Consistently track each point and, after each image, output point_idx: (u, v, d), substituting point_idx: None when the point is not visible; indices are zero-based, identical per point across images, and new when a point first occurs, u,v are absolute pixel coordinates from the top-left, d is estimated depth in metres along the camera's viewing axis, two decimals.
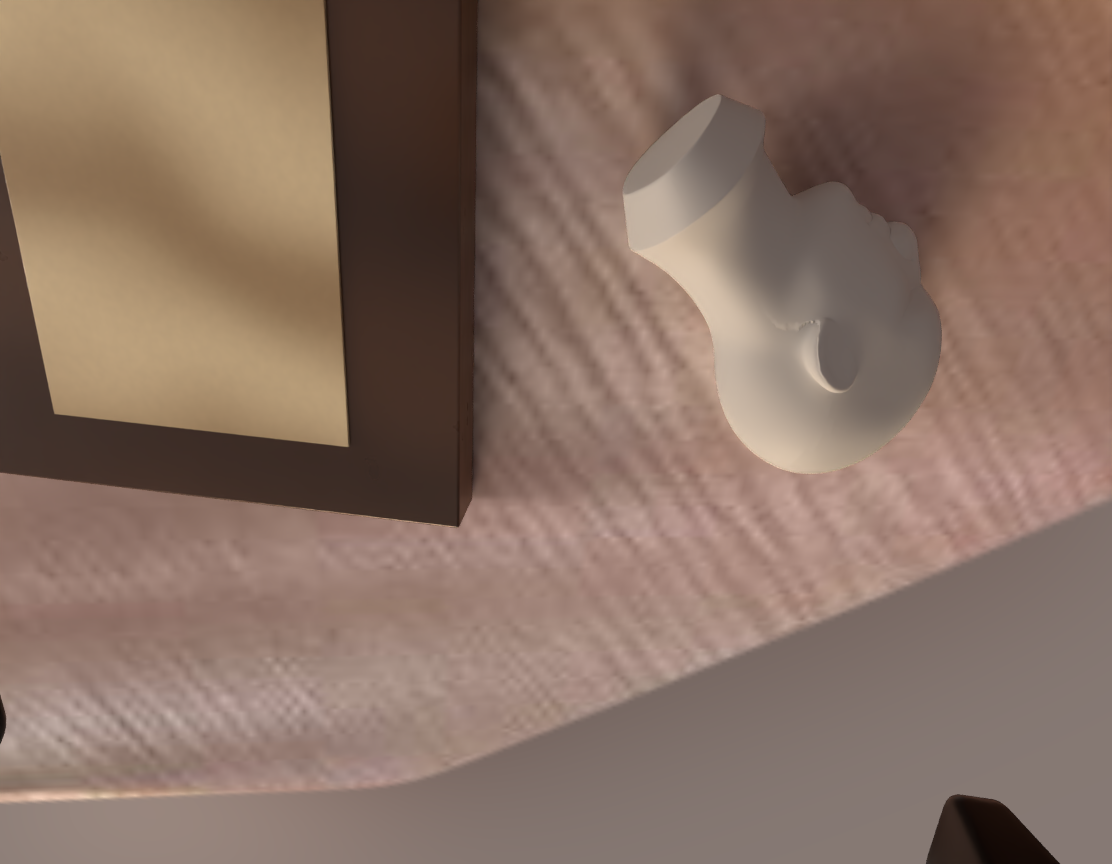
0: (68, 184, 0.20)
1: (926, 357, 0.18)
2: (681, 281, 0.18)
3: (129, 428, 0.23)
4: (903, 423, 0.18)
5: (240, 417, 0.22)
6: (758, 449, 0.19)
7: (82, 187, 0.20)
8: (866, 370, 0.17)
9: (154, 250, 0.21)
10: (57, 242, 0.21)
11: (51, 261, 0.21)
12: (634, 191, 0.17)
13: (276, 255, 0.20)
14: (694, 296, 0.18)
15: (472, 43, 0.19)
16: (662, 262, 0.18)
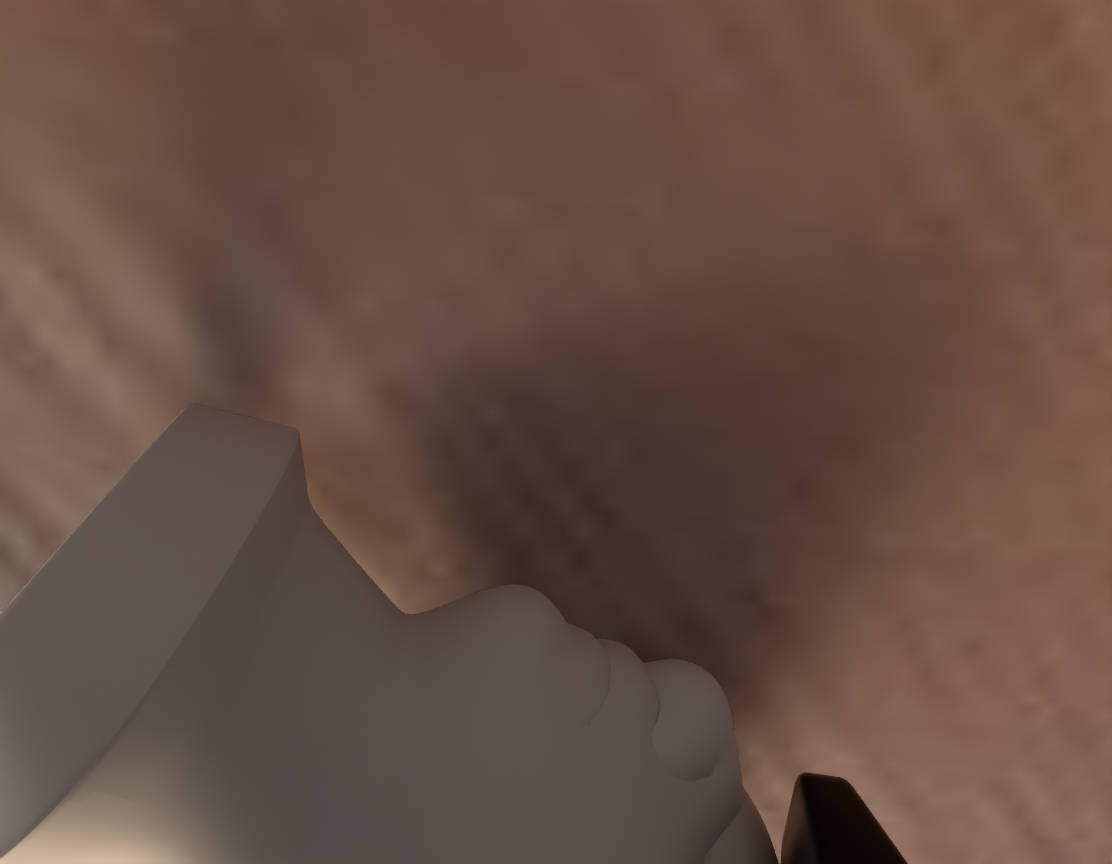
0: None
1: None
2: None
3: None
4: None
5: None
6: None
7: None
8: None
9: None
10: None
11: None
12: None
13: None
14: None
15: None
16: None
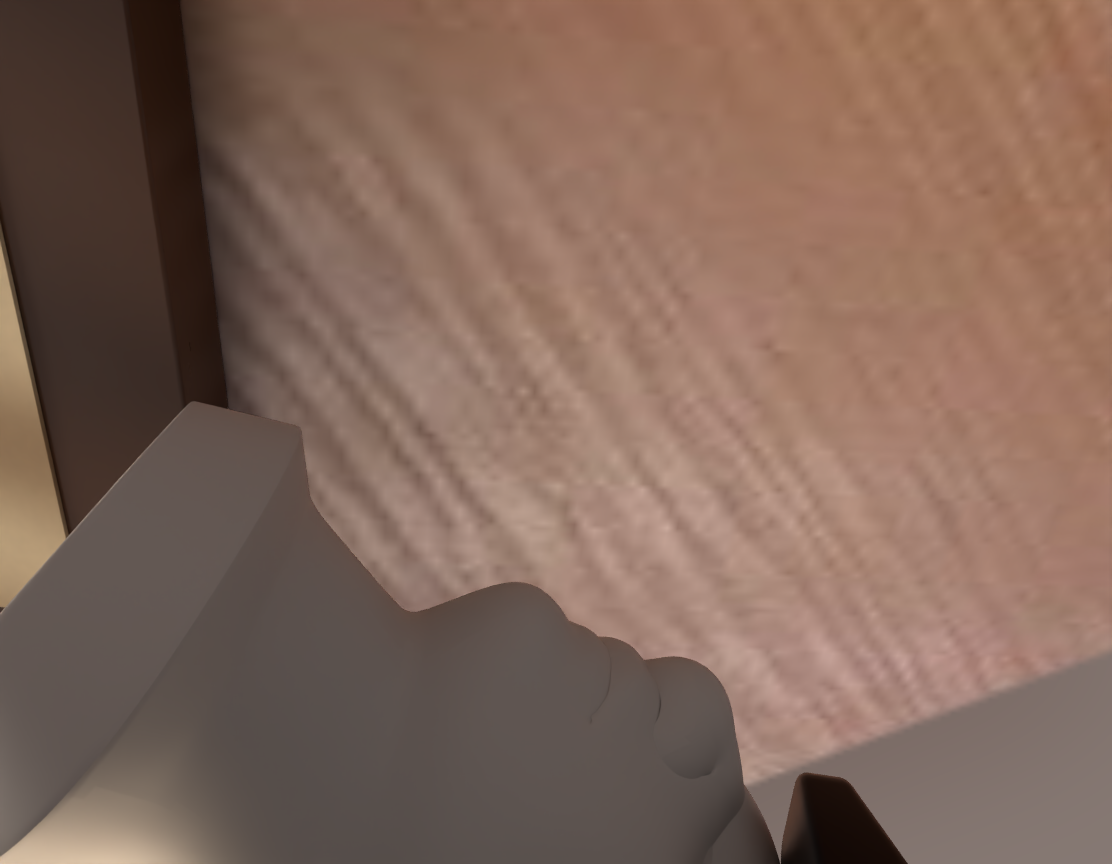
0: None
1: None
2: None
3: None
4: None
5: None
6: None
7: None
8: None
9: None
10: None
11: None
12: None
13: None
14: None
15: (181, 138, 0.15)
16: None
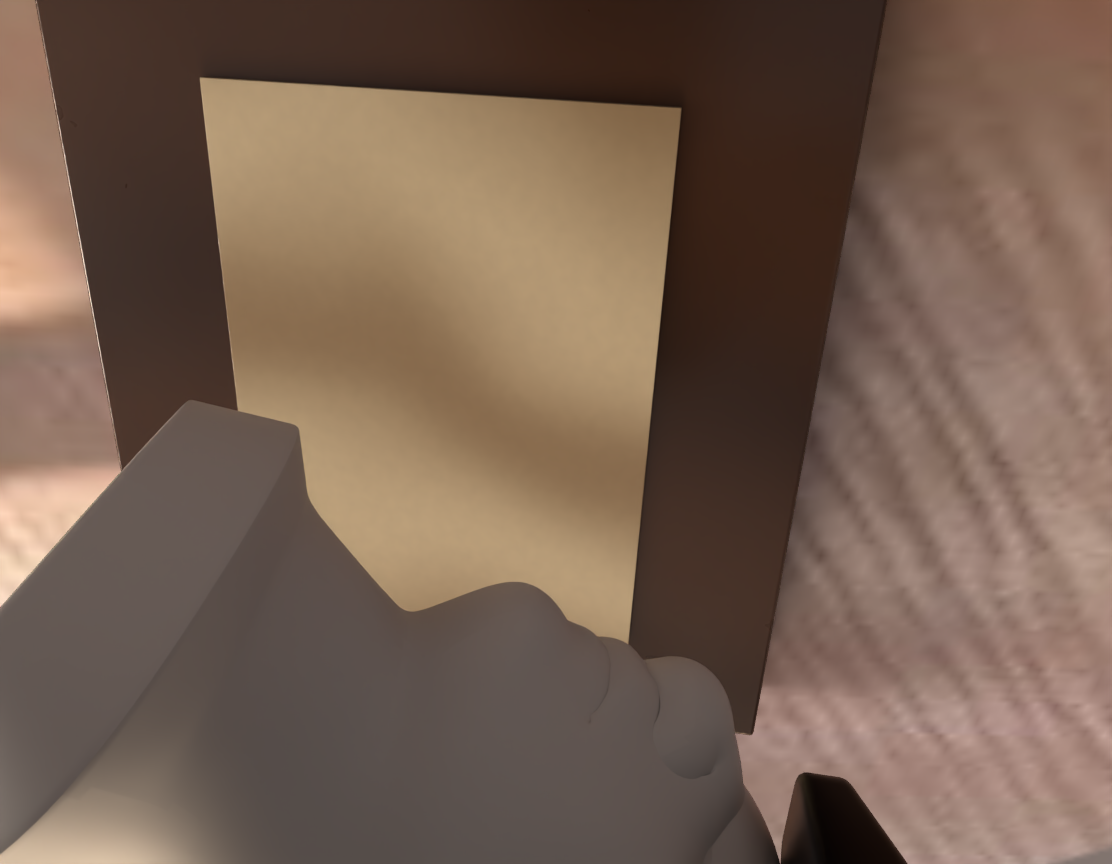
0: (308, 339, 0.16)
1: None
2: None
3: None
4: None
5: None
6: None
7: (327, 343, 0.16)
8: None
9: (411, 418, 0.17)
10: (287, 406, 0.17)
11: None
12: None
13: (569, 427, 0.16)
14: None
15: None
16: None
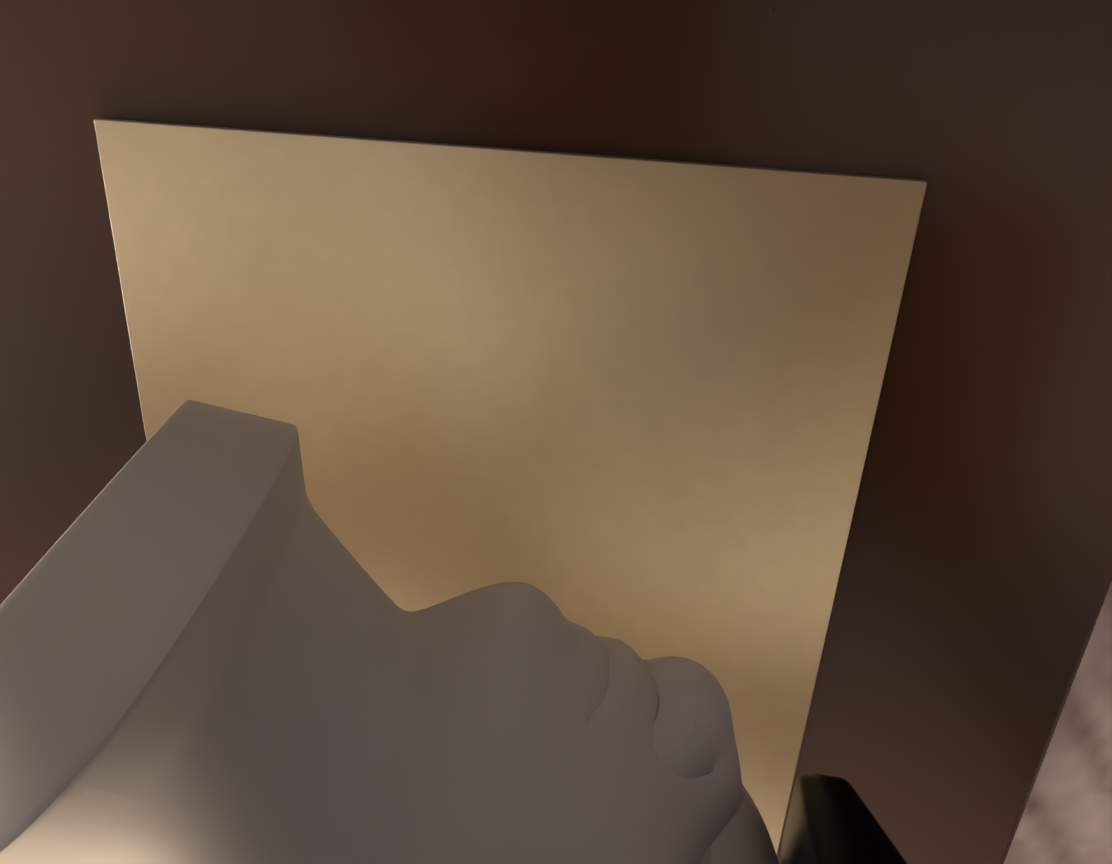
0: None
1: None
2: None
3: None
4: None
5: None
6: None
7: None
8: None
9: None
10: None
11: None
12: None
13: None
14: None
15: None
16: None
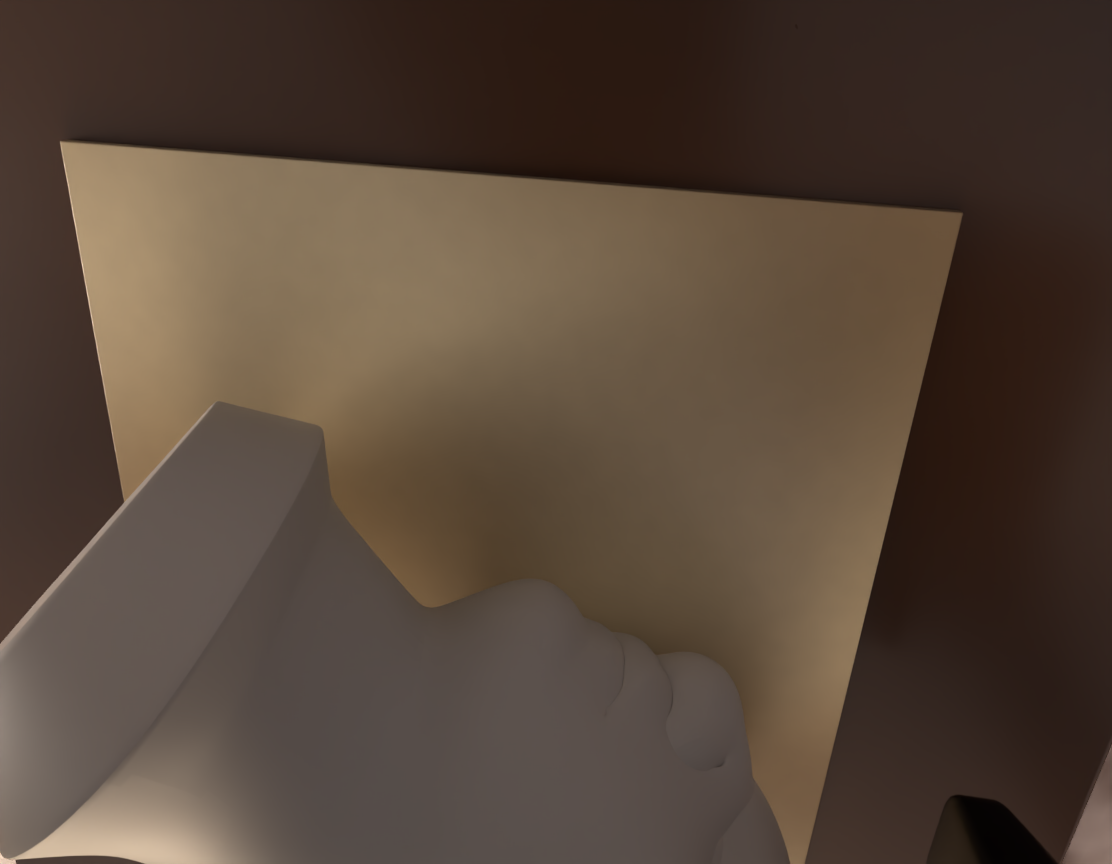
0: None
1: None
2: None
3: None
4: None
5: None
6: None
7: None
8: None
9: None
10: None
11: None
12: None
13: None
14: None
15: None
16: None
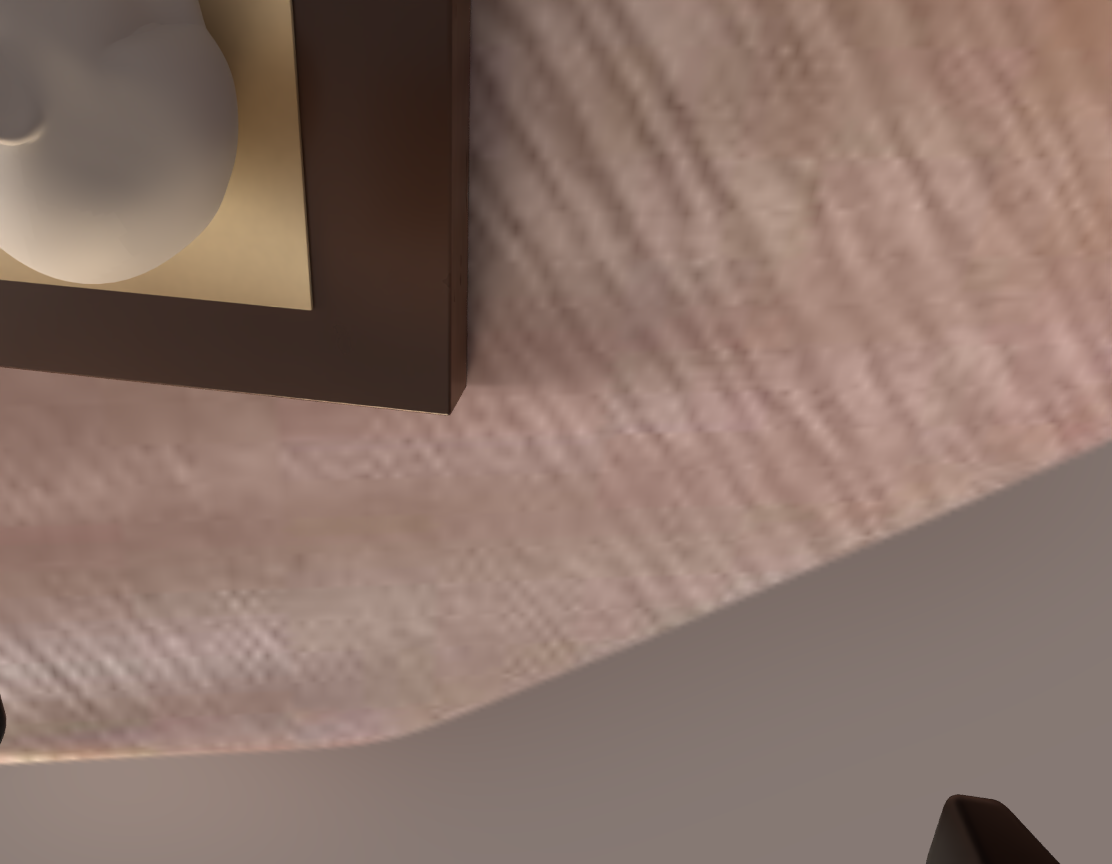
0: None
1: (161, 109, 0.13)
2: None
3: (38, 292, 0.18)
4: (161, 205, 0.14)
5: (175, 274, 0.18)
6: None
7: None
8: (59, 117, 0.13)
9: None
10: None
11: None
12: None
13: None
14: None
15: None
16: None
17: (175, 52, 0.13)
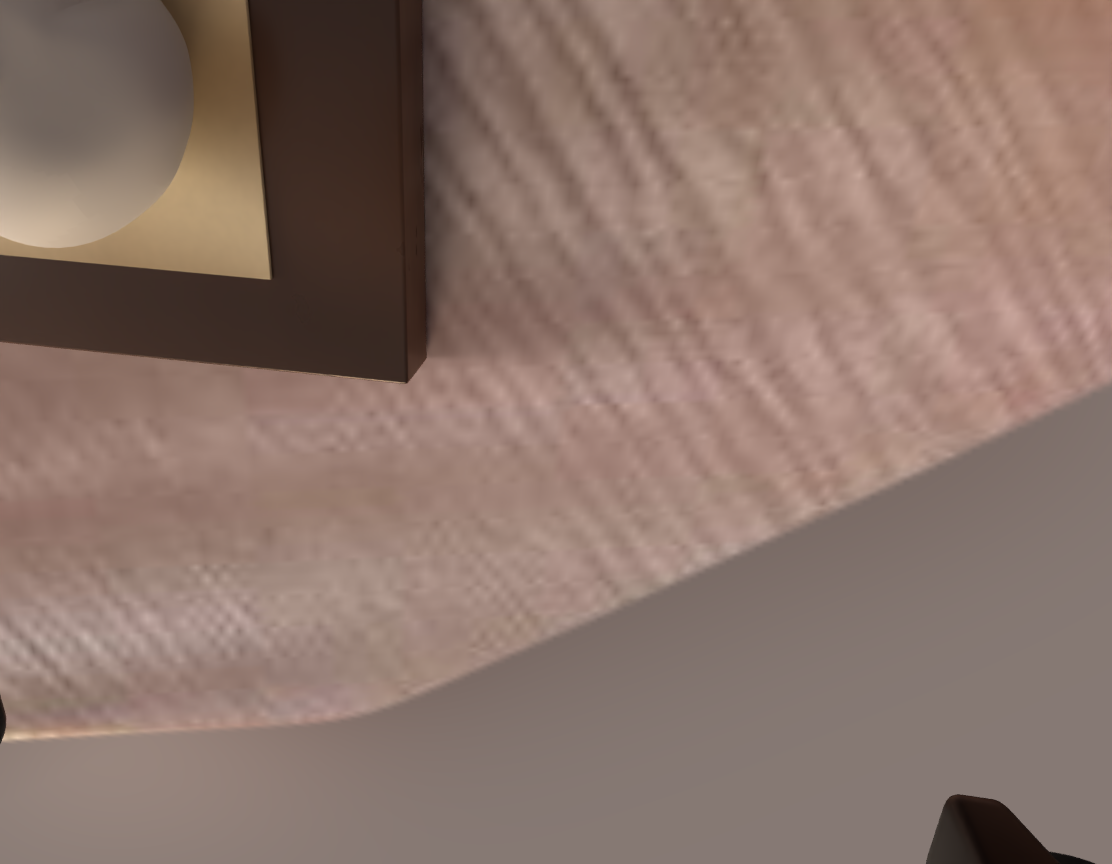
0: None
1: (112, 73, 0.14)
2: None
3: (8, 264, 0.19)
4: (114, 167, 0.14)
5: (139, 245, 0.18)
6: None
7: None
8: (12, 80, 0.14)
9: None
10: None
11: None
12: None
13: None
14: None
15: None
16: None
17: (126, 19, 0.14)
